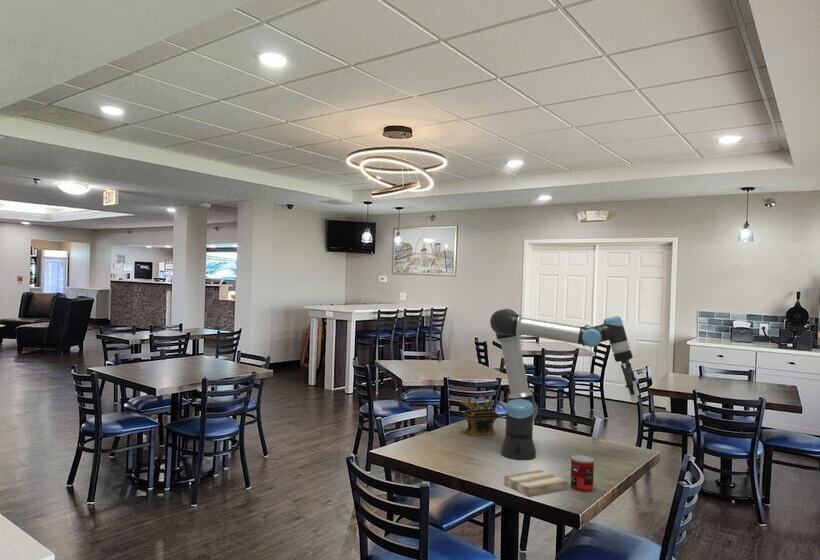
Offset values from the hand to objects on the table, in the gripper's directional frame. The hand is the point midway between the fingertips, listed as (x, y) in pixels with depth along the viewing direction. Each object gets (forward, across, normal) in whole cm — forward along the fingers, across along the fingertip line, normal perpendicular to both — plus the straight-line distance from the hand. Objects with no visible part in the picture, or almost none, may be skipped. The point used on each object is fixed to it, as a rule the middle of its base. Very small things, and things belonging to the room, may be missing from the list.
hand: (635, 398), depth 243 cm
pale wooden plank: (+15, -55, +38) cm, 69 cm away
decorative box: (+4, +8, +79) cm, 79 cm away
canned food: (+20, -48, +24) cm, 57 cm away
